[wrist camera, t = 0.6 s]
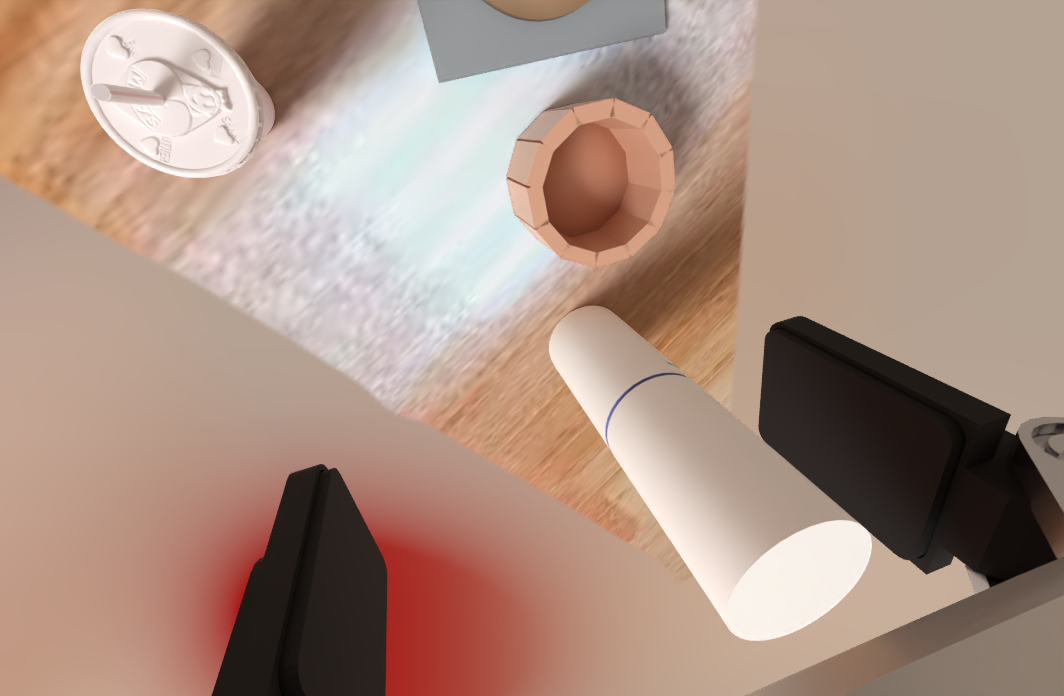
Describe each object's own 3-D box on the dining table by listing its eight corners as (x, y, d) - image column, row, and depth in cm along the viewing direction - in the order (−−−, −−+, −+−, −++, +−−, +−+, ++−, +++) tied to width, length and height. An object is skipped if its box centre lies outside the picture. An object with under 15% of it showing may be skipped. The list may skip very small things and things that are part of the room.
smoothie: (160, 42, 26) (-53, -33, 13) (285, 45, 27) (195, -21, 15) (198, 166, 28) (51, 195, 16) (309, 162, 30) (250, 187, 18)
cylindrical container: (559, 300, 39) (768, 523, 17) (633, 310, 41) (900, 517, 19) (541, 375, 41) (701, 650, 20) (611, 380, 44) (824, 631, 22)
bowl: (493, 122, 32) (513, 121, 26) (626, 91, 33) (669, 84, 28) (524, 259, 36) (545, 282, 31) (639, 227, 38) (678, 243, 33)
